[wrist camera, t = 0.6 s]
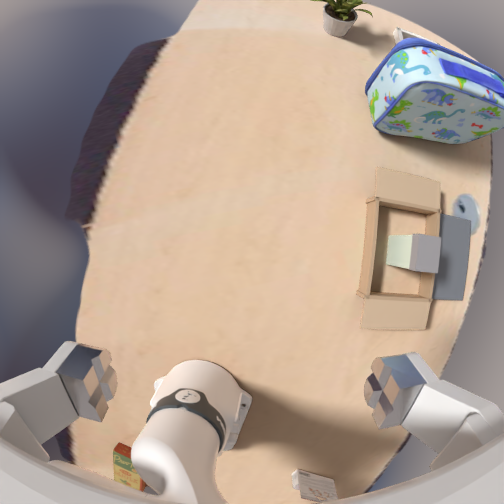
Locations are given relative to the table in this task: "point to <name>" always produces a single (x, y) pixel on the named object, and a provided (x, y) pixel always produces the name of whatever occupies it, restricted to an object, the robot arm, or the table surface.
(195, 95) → the table surface
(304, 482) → the ink cartridge box
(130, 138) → the table surface
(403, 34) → the dish
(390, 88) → the lunch box
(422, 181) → the open cardboard box
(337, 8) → the house plant
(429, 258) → the block
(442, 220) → the slate mat
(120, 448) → the carton
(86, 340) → the table surface
